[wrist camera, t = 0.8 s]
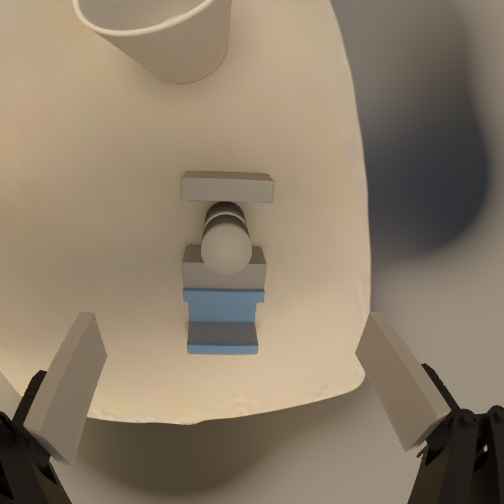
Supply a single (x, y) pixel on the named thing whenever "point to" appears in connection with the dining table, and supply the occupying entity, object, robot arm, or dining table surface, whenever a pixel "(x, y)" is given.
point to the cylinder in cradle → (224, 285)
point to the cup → (163, 33)
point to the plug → (225, 239)
